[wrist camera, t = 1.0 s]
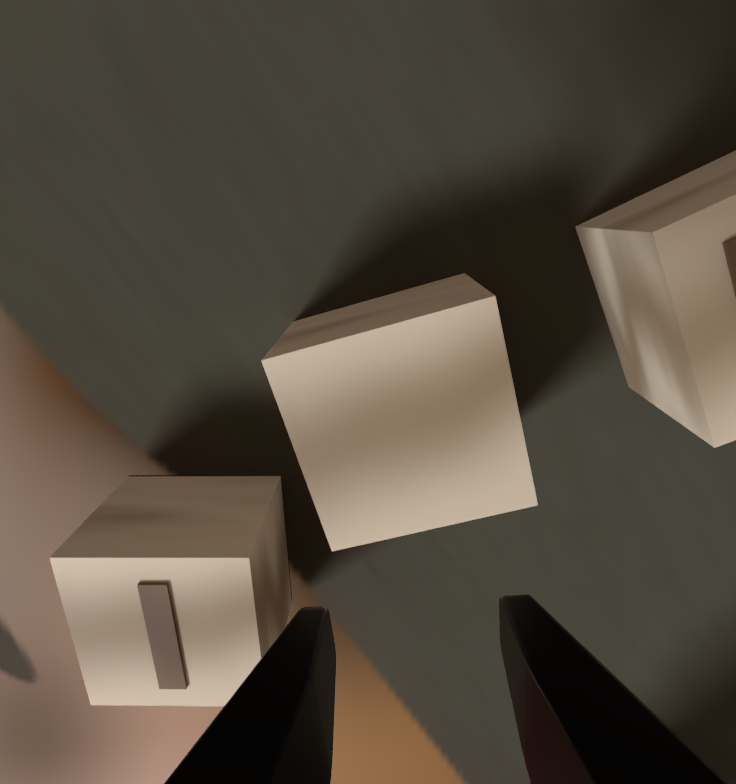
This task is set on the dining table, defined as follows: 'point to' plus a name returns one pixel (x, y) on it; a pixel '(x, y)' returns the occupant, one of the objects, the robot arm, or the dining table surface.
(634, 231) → the block
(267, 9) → the dining table surface
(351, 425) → the plain block
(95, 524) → the one-stroke block
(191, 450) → the dining table surface
